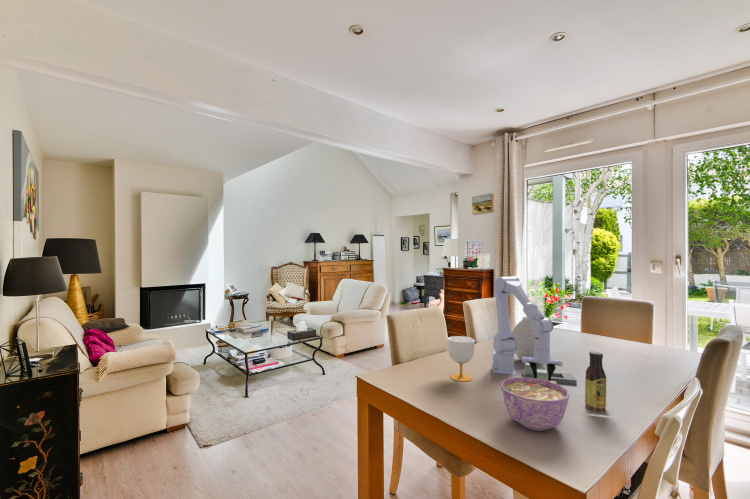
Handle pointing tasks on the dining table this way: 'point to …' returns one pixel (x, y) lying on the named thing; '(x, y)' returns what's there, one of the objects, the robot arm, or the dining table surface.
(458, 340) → the cup
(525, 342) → the vase
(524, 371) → the gray fixture base
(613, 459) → the dining table surface
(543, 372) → the plug
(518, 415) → the bowl of food
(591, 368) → the sauce bottle
